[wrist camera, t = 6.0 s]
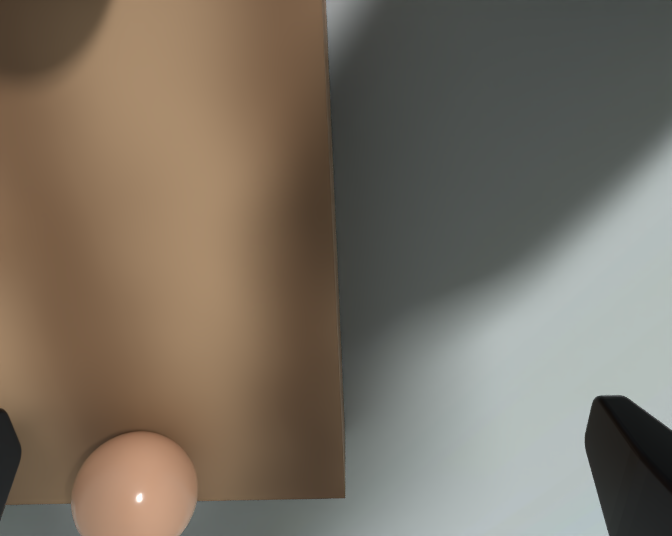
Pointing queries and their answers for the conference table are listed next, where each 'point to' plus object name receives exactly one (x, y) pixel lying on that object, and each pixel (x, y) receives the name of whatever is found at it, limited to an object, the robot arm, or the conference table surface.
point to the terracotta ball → (135, 488)
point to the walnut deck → (170, 241)
